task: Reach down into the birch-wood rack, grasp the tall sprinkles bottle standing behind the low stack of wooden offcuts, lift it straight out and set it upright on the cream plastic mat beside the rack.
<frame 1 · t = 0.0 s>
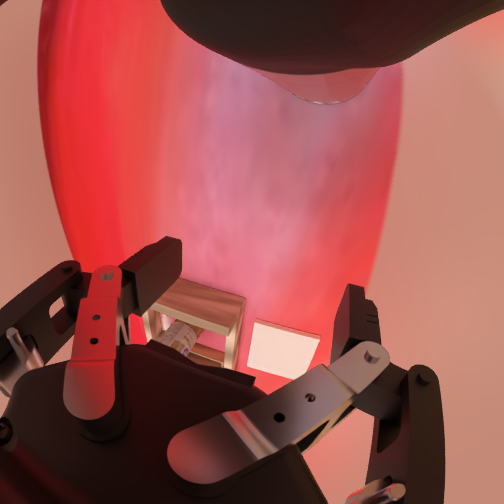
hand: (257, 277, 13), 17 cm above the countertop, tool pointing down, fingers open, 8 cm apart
sprinkles bottle: (194, 318, 41), resting in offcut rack
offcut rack: (193, 318, 41), on the countertop
cream mat: (281, 351, 39), on the countertop
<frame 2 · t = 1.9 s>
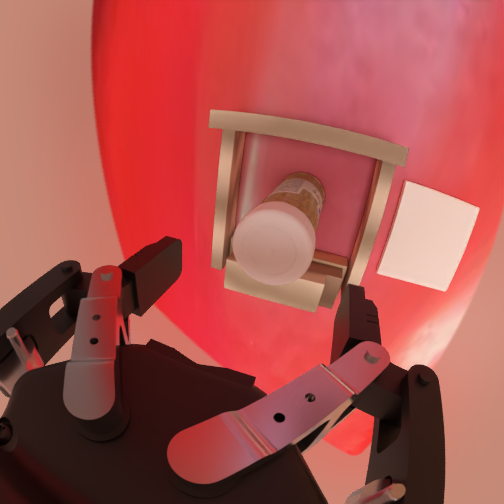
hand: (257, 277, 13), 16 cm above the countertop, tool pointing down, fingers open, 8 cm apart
sprinkles bottle: (302, 193, 26), resting in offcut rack
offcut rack: (301, 193, 26), on the countertop
cream mat: (428, 238, 24), on the countertop
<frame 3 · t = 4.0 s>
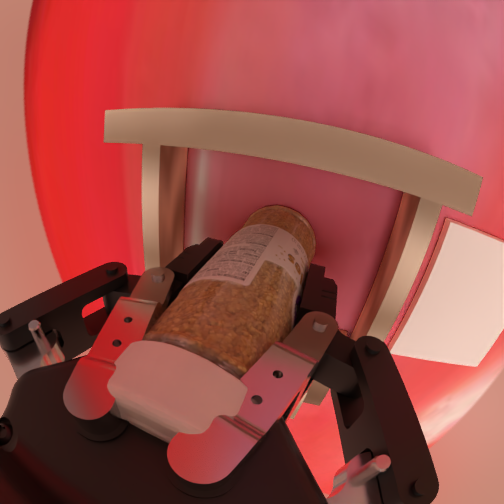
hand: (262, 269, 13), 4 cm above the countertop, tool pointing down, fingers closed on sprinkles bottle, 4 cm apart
sprinkles bottle: (279, 237, 17), resting in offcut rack, touching gripper
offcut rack: (278, 239, 17), on the countertop
cream mat: (467, 302, 14), on the countertop
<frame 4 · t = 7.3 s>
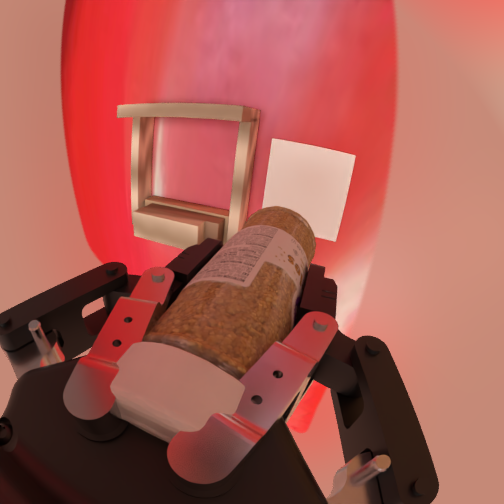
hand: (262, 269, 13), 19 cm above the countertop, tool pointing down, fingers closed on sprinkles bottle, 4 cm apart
sprinkles bottle: (279, 238, 17), point 15 cm above the countertop, touching gripper
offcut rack: (193, 160, 32), on the countertop
cream mat: (306, 189, 30), on the countertop
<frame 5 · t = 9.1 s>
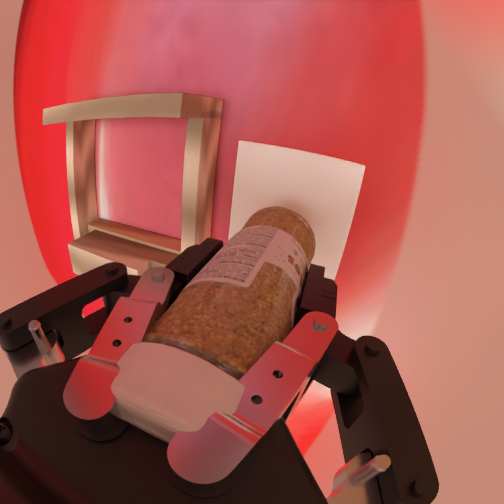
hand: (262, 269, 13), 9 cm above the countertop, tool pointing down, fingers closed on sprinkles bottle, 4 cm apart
sprinkles bottle: (279, 238, 17), point 5 cm above the countertop, touching gripper
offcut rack: (139, 174, 23), on the countertop
cream mat: (291, 214, 21), on the countertop
when the fingers open (5 cm above the countertop, at t = 10.6 s): sprinkles bottle stays where it is, resting on cream mat.
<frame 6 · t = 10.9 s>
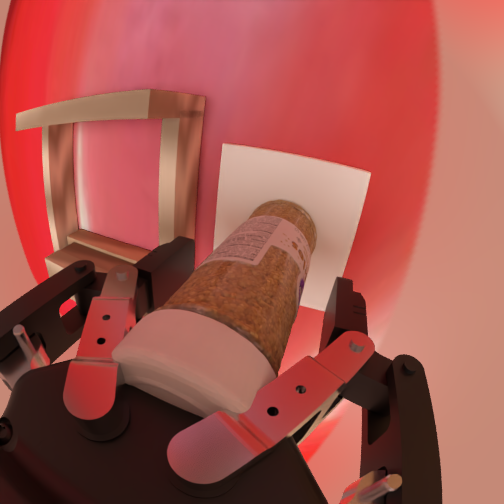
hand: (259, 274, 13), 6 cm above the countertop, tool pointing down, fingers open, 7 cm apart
sprinkles bottle: (282, 231, 18), point 1 cm above the countertop, touching cream mat
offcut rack: (117, 182, 20), on the countertop
cream mat: (283, 229, 18), on the countertop
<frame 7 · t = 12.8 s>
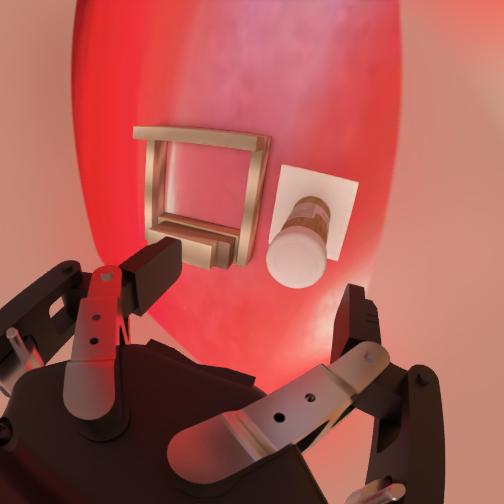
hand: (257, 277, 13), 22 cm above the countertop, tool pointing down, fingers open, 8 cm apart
sprinkles bottle: (311, 213, 32), point 1 cm above the countertop, touching cream mat
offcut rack: (205, 181, 35), on the countertop
cream mat: (312, 212, 33), on the countertop
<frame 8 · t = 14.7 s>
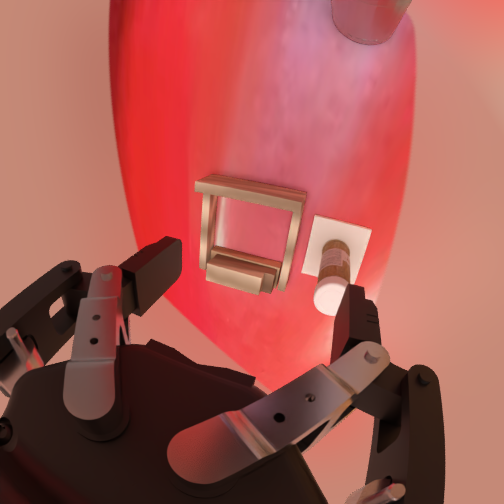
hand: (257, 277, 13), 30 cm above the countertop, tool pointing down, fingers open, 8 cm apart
sprinkles bottle: (335, 251, 42), point 1 cm above the countertop, touching cream mat
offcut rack: (252, 224, 45), on the countertop
cream mat: (335, 250, 43), on the countertop
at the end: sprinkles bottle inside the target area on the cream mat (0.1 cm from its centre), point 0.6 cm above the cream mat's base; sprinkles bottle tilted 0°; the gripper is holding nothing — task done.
